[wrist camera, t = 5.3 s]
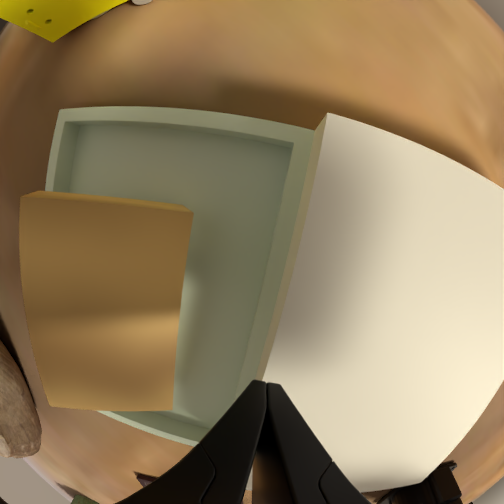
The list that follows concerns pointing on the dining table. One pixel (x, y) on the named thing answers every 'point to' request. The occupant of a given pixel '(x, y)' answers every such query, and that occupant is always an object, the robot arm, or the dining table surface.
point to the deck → (389, 303)
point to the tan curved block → (103, 297)
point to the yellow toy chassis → (55, 14)
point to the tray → (199, 232)
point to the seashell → (16, 412)
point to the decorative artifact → (82, 500)
